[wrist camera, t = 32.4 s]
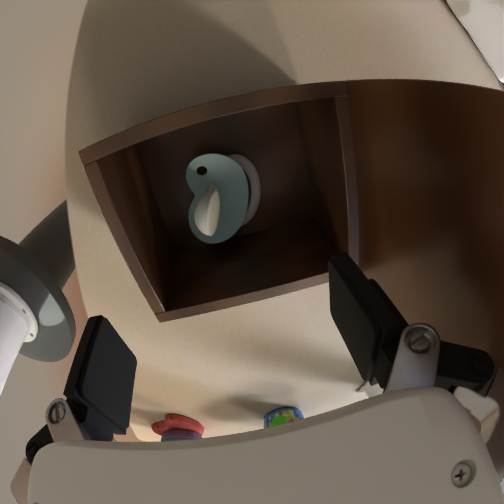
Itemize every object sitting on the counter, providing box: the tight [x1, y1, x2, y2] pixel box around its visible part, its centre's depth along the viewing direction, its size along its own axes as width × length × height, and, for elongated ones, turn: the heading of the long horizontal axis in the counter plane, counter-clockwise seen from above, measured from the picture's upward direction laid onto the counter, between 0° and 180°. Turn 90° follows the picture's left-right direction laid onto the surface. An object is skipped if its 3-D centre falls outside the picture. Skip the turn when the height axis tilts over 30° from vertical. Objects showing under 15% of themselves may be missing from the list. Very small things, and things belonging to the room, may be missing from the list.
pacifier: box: [186, 153, 261, 244], centre depth 20 cm, size 7×6×6 cm
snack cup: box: [264, 408, 304, 428], centre depth 43 cm, size 16×10×10 cm
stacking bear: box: [152, 414, 204, 442], centre depth 39 cm, size 11×10×18 cm
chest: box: [79, 81, 359, 322], centre depth 19 cm, size 15×13×9 cm
